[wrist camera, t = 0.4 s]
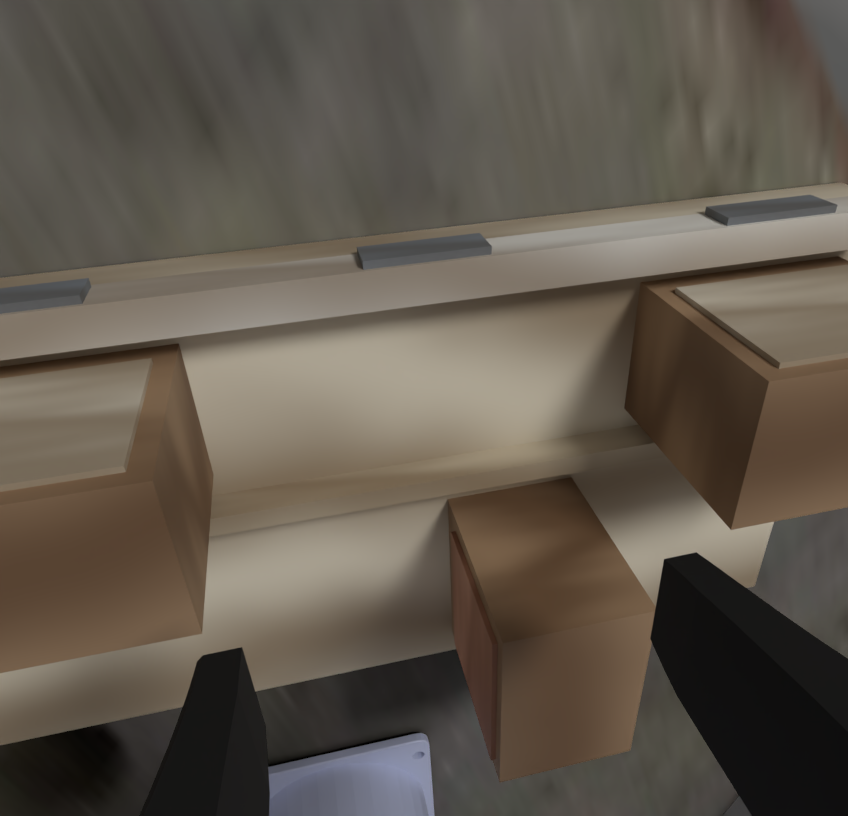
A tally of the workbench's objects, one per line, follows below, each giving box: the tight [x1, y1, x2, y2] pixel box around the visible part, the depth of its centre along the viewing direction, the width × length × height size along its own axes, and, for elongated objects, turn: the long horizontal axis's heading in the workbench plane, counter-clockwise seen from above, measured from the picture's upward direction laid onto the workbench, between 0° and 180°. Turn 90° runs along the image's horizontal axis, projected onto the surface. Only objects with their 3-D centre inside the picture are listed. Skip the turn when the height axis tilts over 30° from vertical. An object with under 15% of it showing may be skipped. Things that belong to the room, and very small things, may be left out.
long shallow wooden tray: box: [0, 183, 848, 745], centre depth 20 cm, size 15×28×2 cm, turn 93°
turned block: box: [448, 477, 656, 782], centre depth 21 cm, size 4×6×6 cm
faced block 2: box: [624, 256, 848, 530], centre depth 18 cm, size 4×6×6 cm
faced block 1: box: [0, 343, 214, 673], centre depth 15 cm, size 4×6×6 cm
